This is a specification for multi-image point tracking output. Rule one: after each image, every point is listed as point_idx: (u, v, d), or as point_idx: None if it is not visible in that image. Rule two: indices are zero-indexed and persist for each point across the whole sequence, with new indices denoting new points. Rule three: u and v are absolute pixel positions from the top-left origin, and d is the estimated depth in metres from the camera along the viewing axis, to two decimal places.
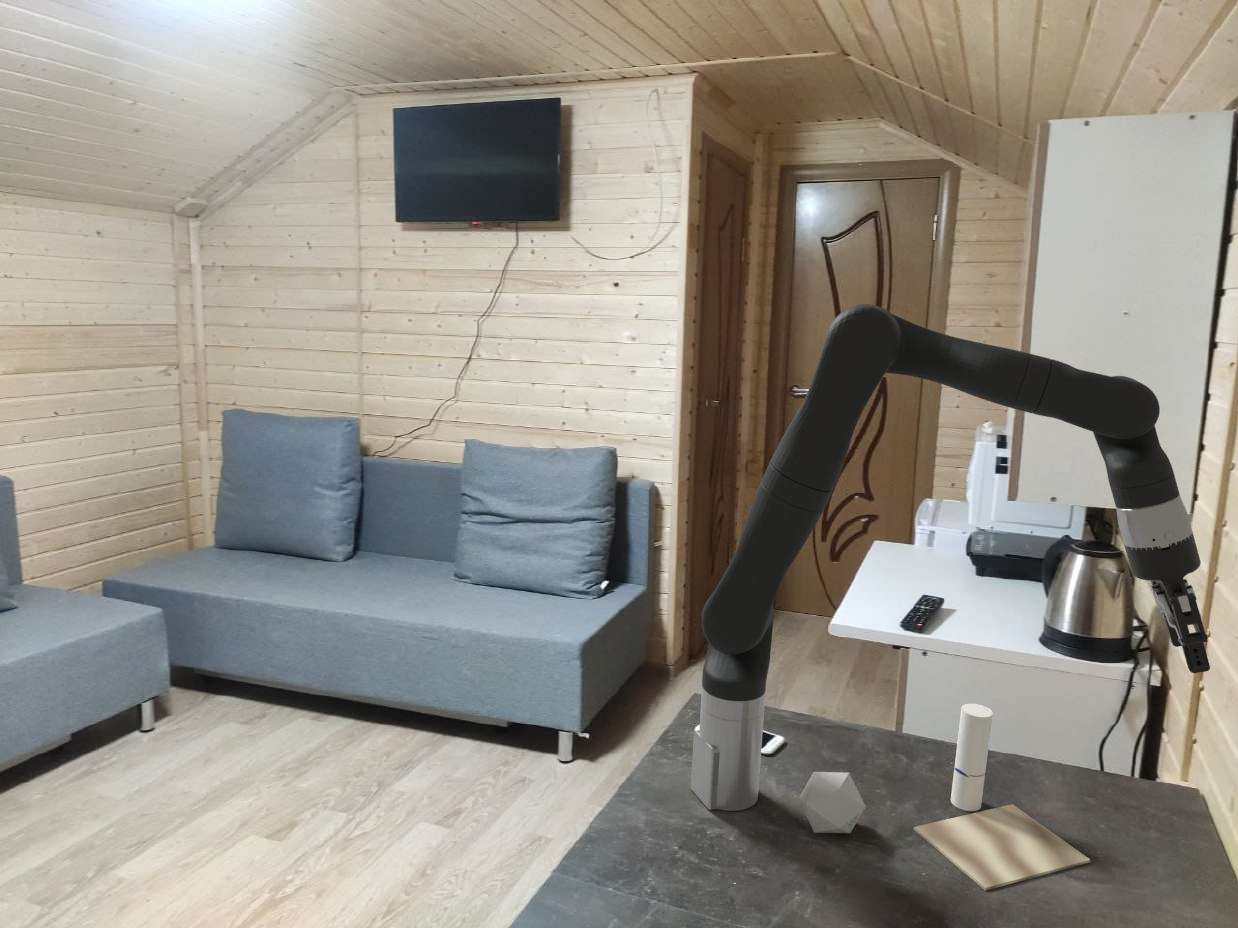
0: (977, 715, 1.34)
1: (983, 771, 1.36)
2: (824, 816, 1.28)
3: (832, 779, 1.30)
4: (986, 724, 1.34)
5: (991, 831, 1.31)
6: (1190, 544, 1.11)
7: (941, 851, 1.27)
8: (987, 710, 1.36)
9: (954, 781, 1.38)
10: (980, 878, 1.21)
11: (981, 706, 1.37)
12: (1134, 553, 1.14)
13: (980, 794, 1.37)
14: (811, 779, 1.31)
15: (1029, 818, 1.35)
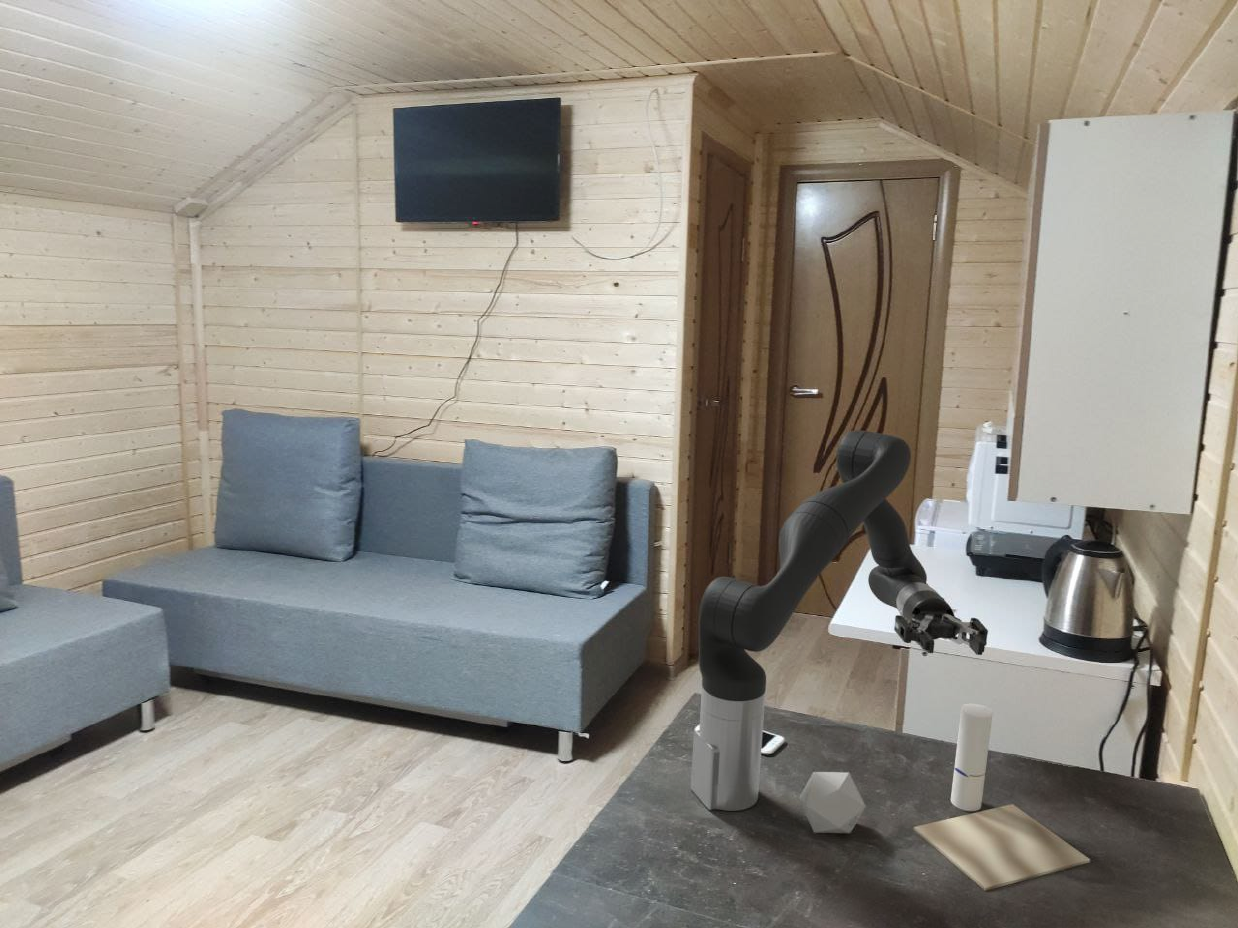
0: (977, 715, 1.34)
1: (983, 771, 1.36)
2: (824, 816, 1.28)
3: (831, 779, 1.30)
4: (986, 724, 1.34)
5: (991, 831, 1.31)
6: None
7: (941, 851, 1.27)
8: (987, 710, 1.36)
9: (954, 781, 1.38)
10: (980, 878, 1.21)
11: (981, 706, 1.37)
12: (939, 595, 1.60)
13: (980, 794, 1.37)
14: (811, 779, 1.31)
15: (1029, 818, 1.35)
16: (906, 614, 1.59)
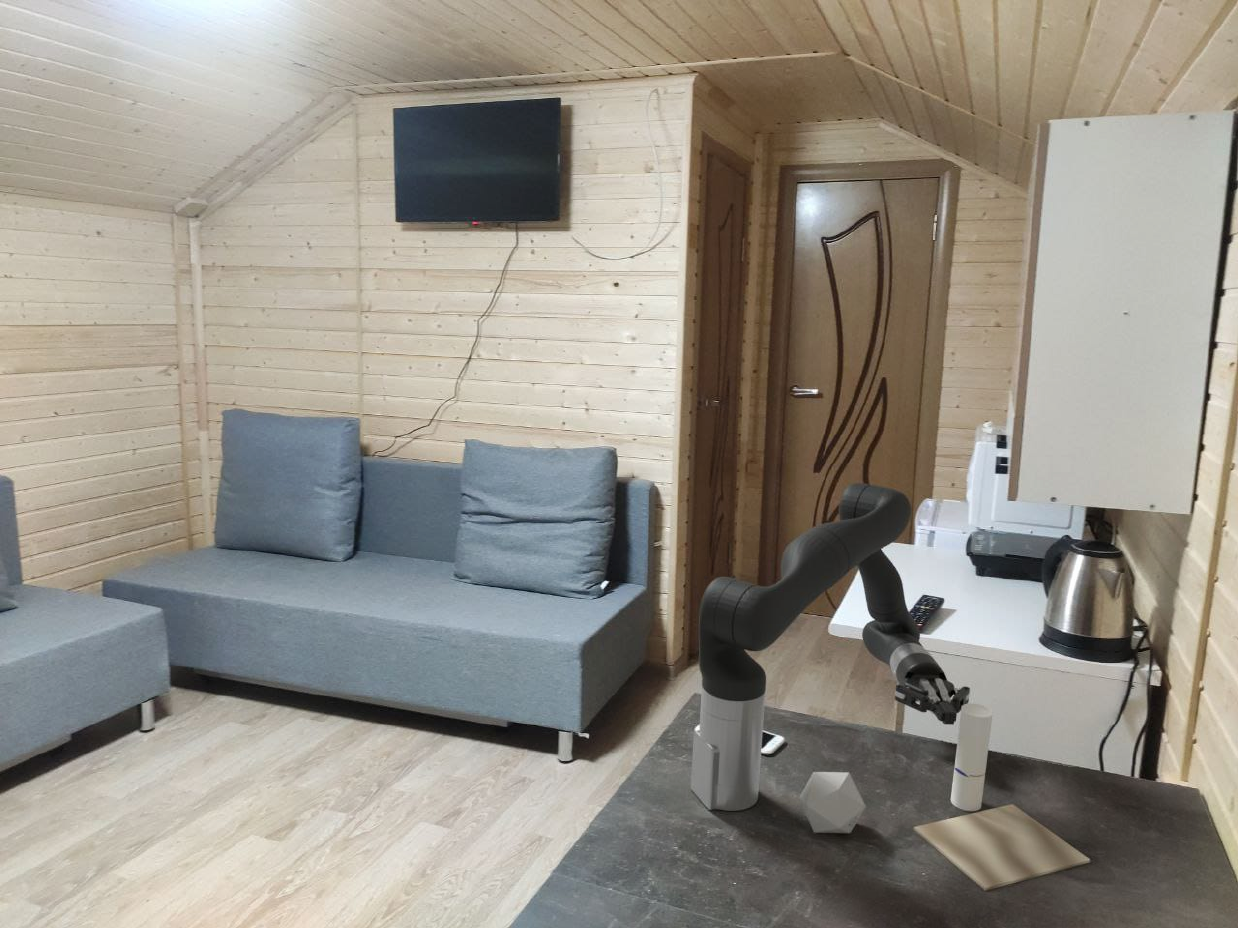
0: (977, 715, 1.34)
1: (983, 771, 1.36)
2: (824, 815, 1.28)
3: (831, 779, 1.30)
4: (986, 724, 1.34)
5: (991, 831, 1.31)
6: None
7: (941, 851, 1.27)
8: (987, 710, 1.36)
9: (954, 781, 1.38)
10: (980, 878, 1.21)
11: (981, 706, 1.37)
12: (931, 657, 1.62)
13: (980, 794, 1.37)
14: (811, 779, 1.31)
15: (1029, 818, 1.35)
16: (899, 677, 1.62)
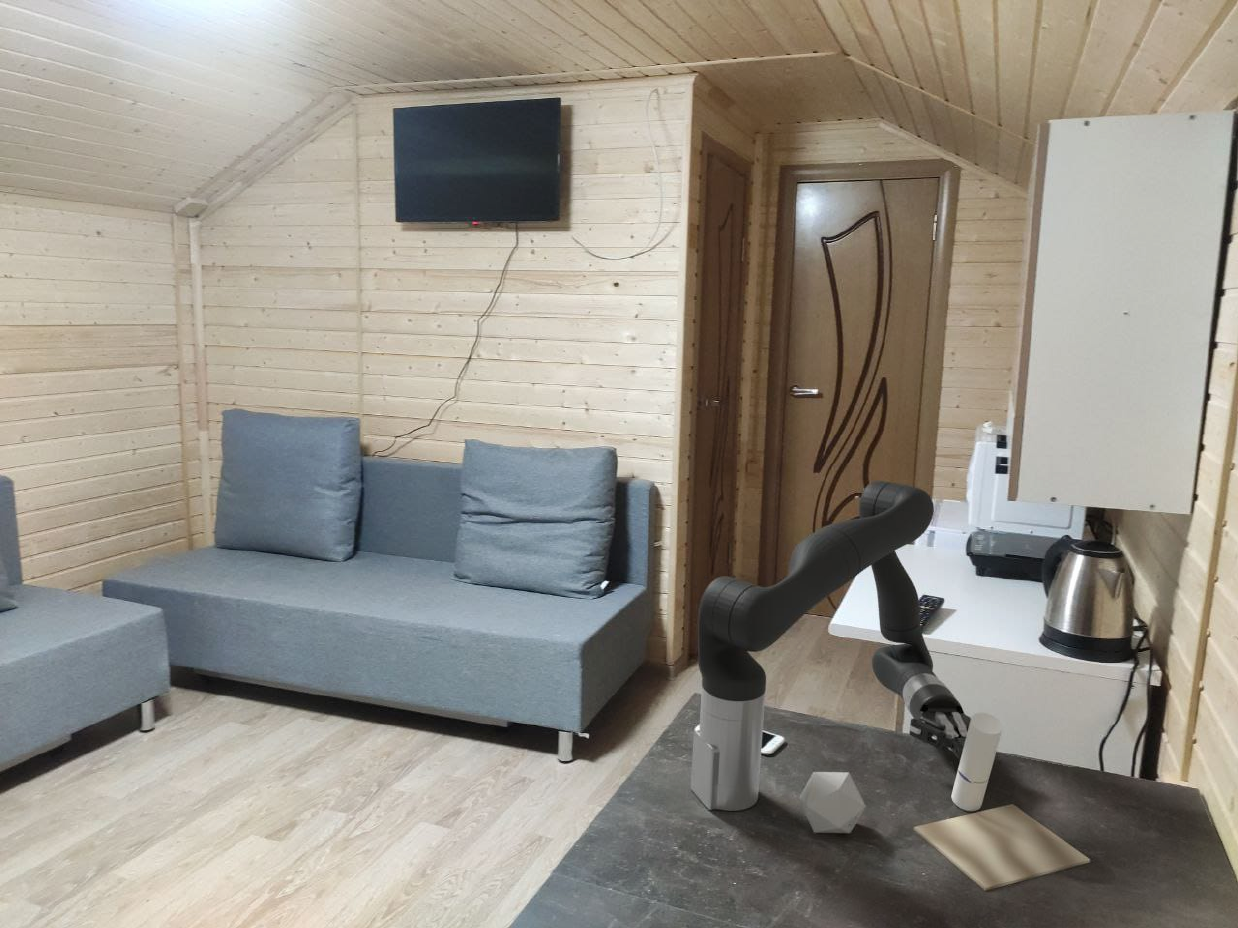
0: (986, 731, 1.31)
1: (987, 778, 1.35)
2: (824, 815, 1.28)
3: (831, 779, 1.30)
4: (995, 739, 1.31)
5: (991, 831, 1.31)
6: None
7: (941, 851, 1.27)
8: (997, 722, 1.32)
9: (956, 782, 1.37)
10: (980, 878, 1.21)
11: (991, 717, 1.33)
12: (947, 689, 1.53)
13: (982, 796, 1.36)
14: (811, 779, 1.31)
15: (1029, 818, 1.35)
16: (913, 710, 1.53)
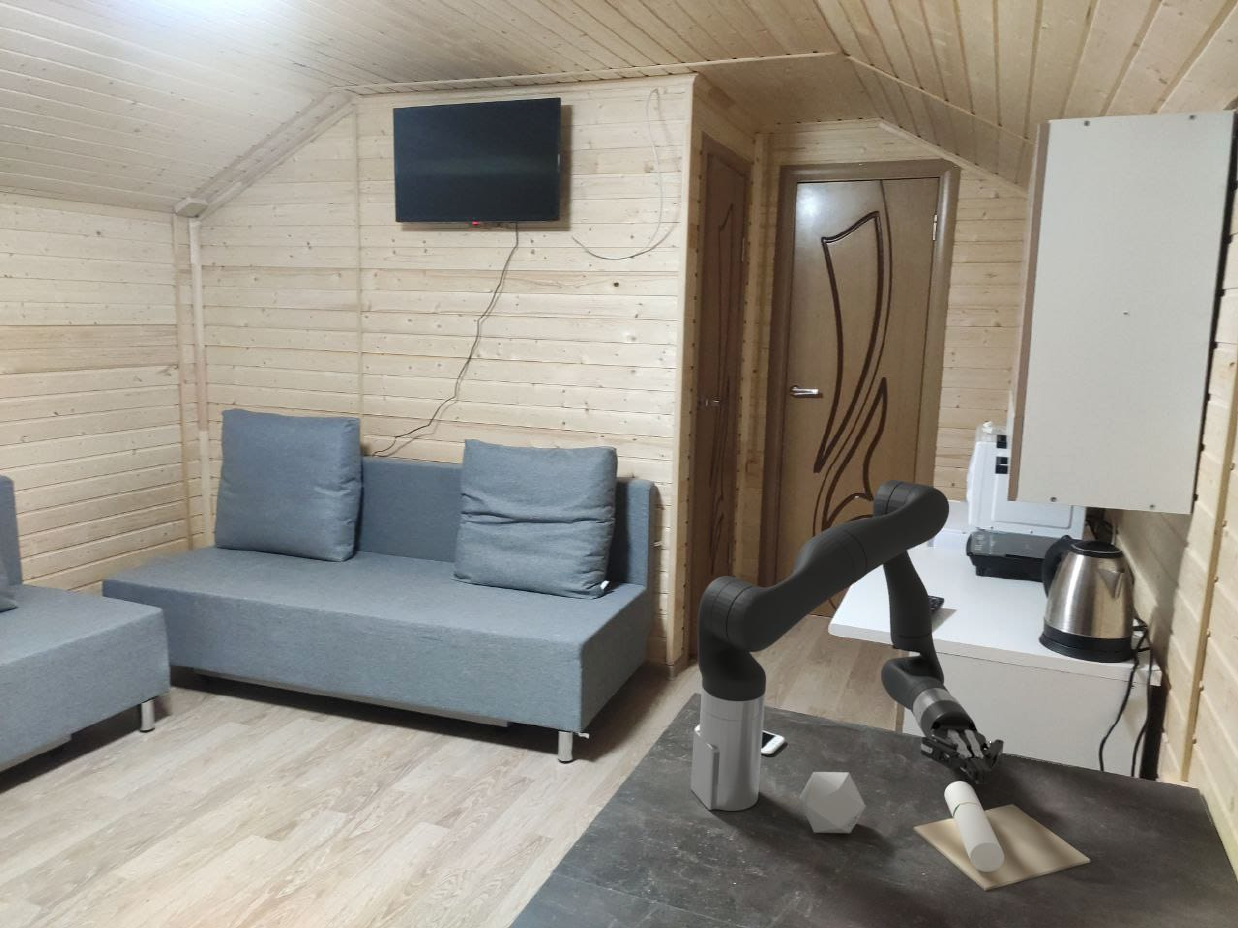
0: (993, 867, 1.22)
1: None
2: (824, 815, 1.28)
3: (831, 779, 1.30)
4: None
5: None
6: None
7: (941, 851, 1.27)
8: (995, 849, 1.22)
9: None
10: (980, 878, 1.21)
11: (986, 845, 1.22)
12: (960, 706, 1.48)
13: None
14: (811, 779, 1.31)
15: (1029, 818, 1.35)
16: (925, 727, 1.47)
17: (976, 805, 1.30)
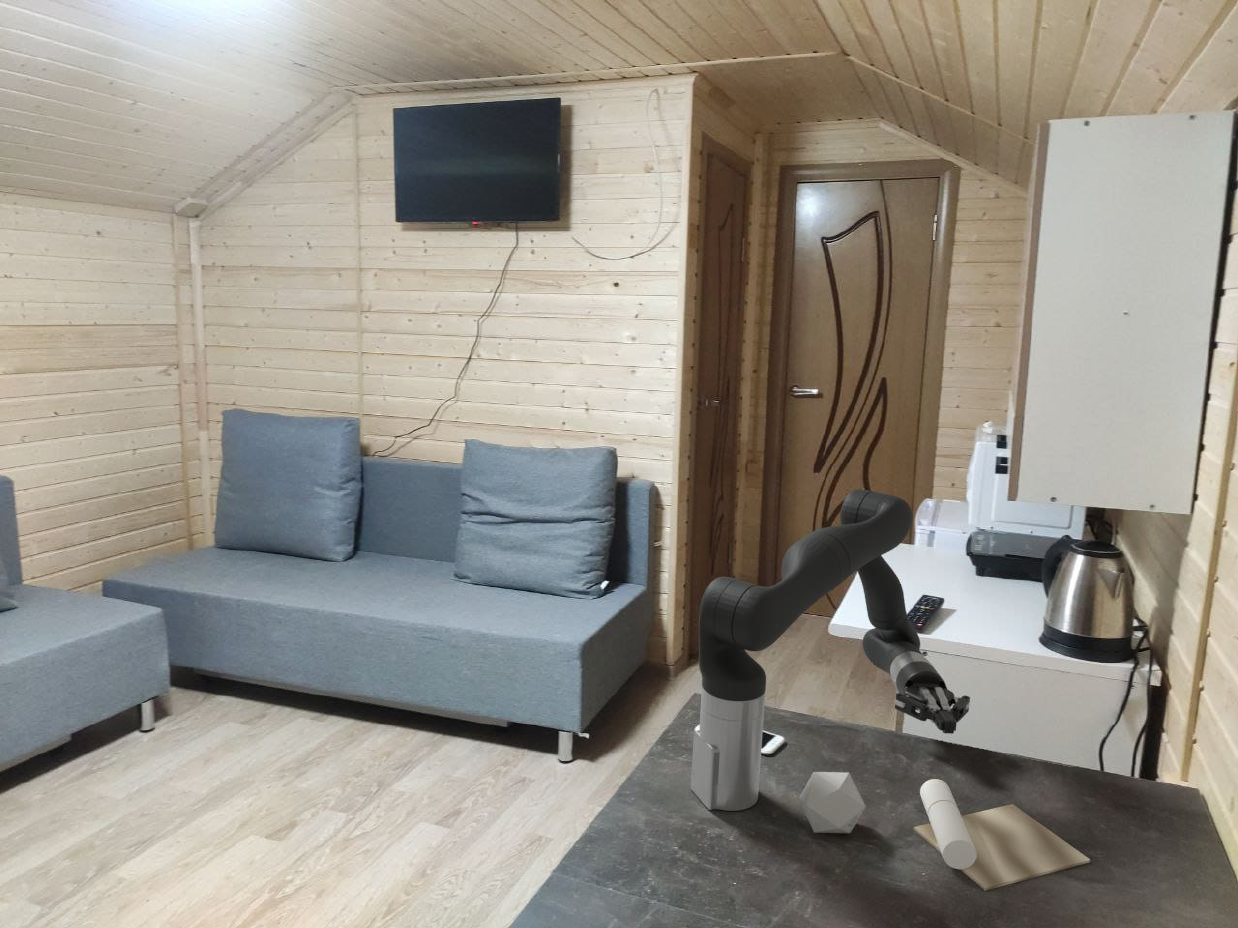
0: (971, 848, 1.22)
1: (945, 802, 1.30)
2: (824, 816, 1.28)
3: (831, 779, 1.30)
4: (963, 835, 1.23)
5: (991, 831, 1.31)
6: None
7: None
8: (950, 848, 1.22)
9: None
10: (980, 878, 1.21)
11: (946, 855, 1.23)
12: (932, 666, 1.62)
13: (940, 788, 1.34)
14: (811, 779, 1.31)
15: (1029, 818, 1.35)
16: (899, 685, 1.61)
17: (929, 810, 1.31)
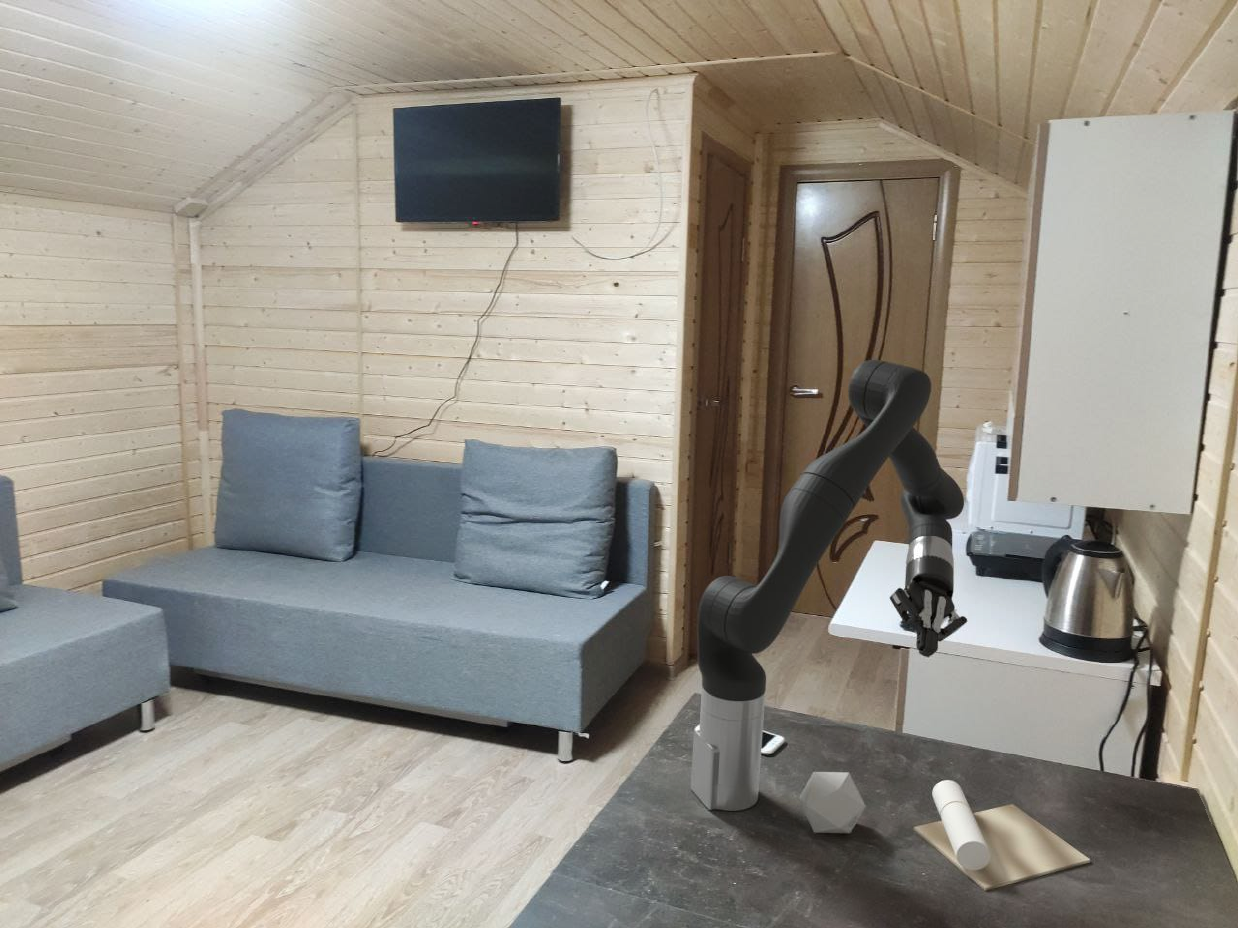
0: (986, 859, 1.22)
1: (969, 808, 1.30)
2: (824, 815, 1.28)
3: (831, 779, 1.30)
4: (986, 844, 1.23)
5: (991, 831, 1.31)
6: None
7: (941, 851, 1.27)
8: (972, 845, 1.22)
9: None
10: (980, 878, 1.21)
11: (963, 848, 1.22)
12: (951, 568, 1.52)
13: (963, 794, 1.34)
14: (811, 779, 1.31)
15: (1029, 818, 1.35)
16: (908, 571, 1.52)
17: (951, 803, 1.31)
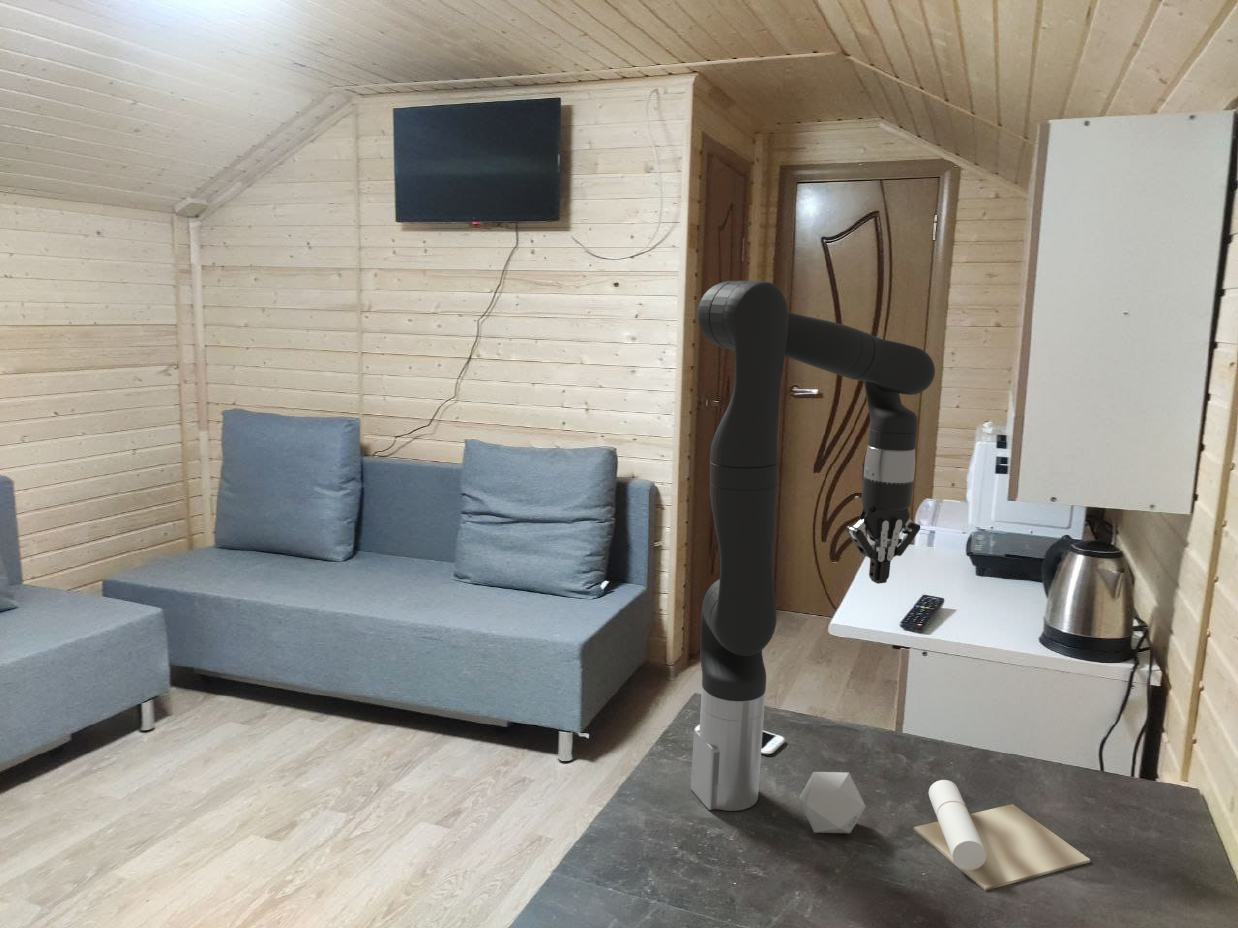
0: (983, 855, 1.22)
1: (963, 806, 1.30)
2: (824, 815, 1.28)
3: (831, 779, 1.30)
4: (980, 841, 1.23)
5: (991, 831, 1.31)
6: None
7: (941, 851, 1.27)
8: (965, 845, 1.22)
9: None
10: (980, 878, 1.21)
11: (957, 850, 1.22)
12: (911, 486, 1.43)
13: (957, 791, 1.34)
14: (811, 779, 1.31)
15: (1029, 818, 1.35)
16: (867, 493, 1.44)
17: (944, 805, 1.31)
